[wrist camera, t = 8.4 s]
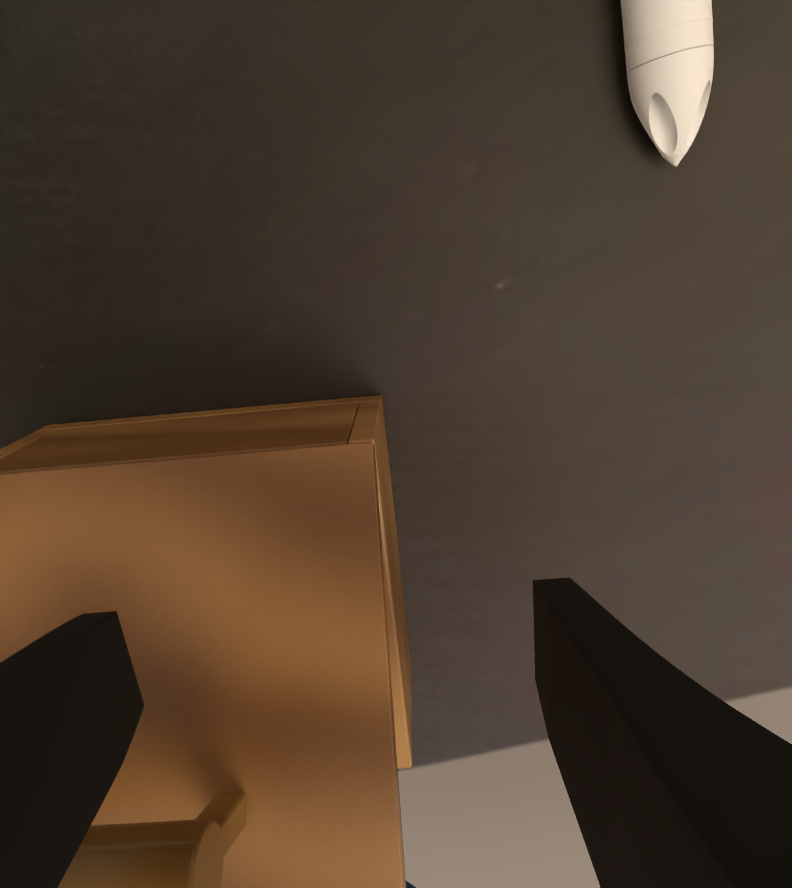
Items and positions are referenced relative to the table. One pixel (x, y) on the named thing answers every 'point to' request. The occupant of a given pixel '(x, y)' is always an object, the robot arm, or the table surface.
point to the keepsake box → (245, 435)
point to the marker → (669, 68)
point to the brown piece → (226, 661)
